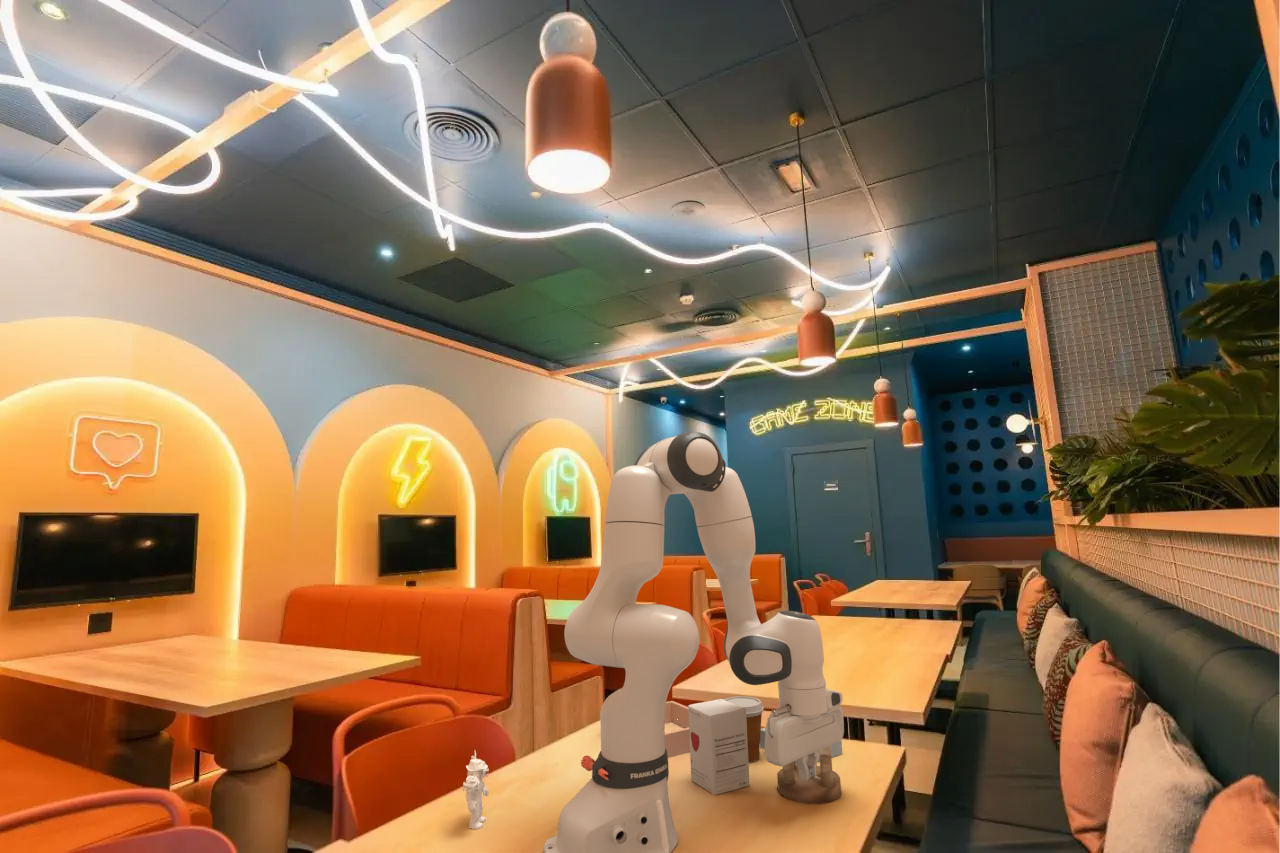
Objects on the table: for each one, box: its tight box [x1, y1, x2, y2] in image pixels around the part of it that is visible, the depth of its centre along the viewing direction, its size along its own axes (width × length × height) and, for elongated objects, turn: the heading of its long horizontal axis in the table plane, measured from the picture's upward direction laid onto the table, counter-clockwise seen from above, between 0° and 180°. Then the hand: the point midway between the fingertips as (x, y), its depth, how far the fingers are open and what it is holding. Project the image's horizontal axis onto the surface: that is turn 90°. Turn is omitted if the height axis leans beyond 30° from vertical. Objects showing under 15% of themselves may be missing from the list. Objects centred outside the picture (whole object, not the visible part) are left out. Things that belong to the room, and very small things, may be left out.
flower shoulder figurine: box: [462, 750, 490, 830], centre depth 117 cm, size 9×4×12 cm, turn 178°
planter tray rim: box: [665, 700, 690, 758], centre depth 158 cm, size 21×22×5 cm
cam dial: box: [776, 745, 842, 804], centre depth 126 cm, size 12×12×8 cm
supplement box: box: [687, 698, 751, 796], centre depth 132 cm, size 9×9×15 cm
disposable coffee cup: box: [724, 695, 764, 763], centre depth 145 cm, size 10×10×12 cm
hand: (807, 777), depth 119 cm, fingers closed
